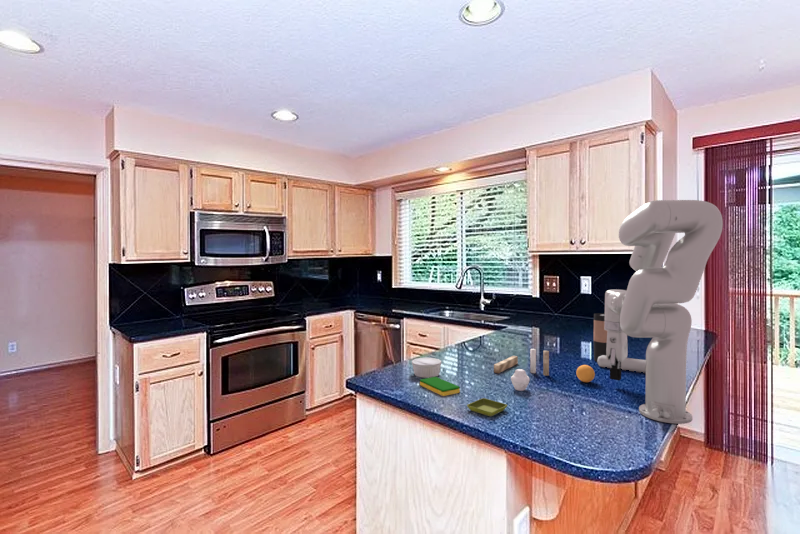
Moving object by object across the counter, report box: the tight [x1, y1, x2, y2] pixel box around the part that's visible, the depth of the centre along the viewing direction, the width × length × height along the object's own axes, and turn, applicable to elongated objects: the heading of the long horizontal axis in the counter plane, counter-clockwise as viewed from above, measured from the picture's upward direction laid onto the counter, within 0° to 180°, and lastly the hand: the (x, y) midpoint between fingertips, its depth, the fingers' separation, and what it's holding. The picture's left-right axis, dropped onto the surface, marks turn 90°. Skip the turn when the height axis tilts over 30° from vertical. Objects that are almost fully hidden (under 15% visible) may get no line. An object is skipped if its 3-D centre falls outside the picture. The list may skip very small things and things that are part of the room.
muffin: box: [510, 368, 531, 392], centre depth 139 cm, size 6×6×7 cm
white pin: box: [529, 348, 537, 374], centre depth 158 cm, size 2×2×9 cm
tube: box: [596, 355, 646, 374], centre depth 161 cm, size 5×5×25 cm
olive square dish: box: [466, 397, 508, 417], centre depth 120 cm, size 9×9×2 cm
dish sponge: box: [419, 376, 461, 397], centre depth 140 cm, size 7×14×2 cm, turn 31°
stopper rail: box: [493, 355, 519, 374], centre depth 165 cm, size 18×2×3 cm, turn 141°
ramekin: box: [411, 357, 442, 379], centre depth 157 cm, size 11×11×5 cm
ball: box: [575, 364, 596, 383], centre depth 147 cm, size 6×6×6 cm
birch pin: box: [542, 350, 550, 377], centre depth 155 cm, size 2×2×9 cm
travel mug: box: [593, 312, 608, 363], centre depth 175 cm, size 8×8×20 cm
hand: (615, 379), depth 141 cm, fingers closed
